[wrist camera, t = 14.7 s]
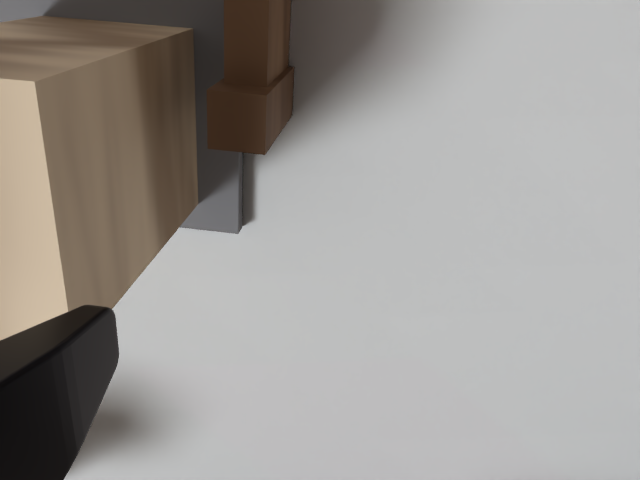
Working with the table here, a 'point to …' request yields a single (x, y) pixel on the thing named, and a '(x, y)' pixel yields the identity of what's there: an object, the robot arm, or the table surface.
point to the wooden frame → (252, 78)
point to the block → (90, 159)
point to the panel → (208, 33)
